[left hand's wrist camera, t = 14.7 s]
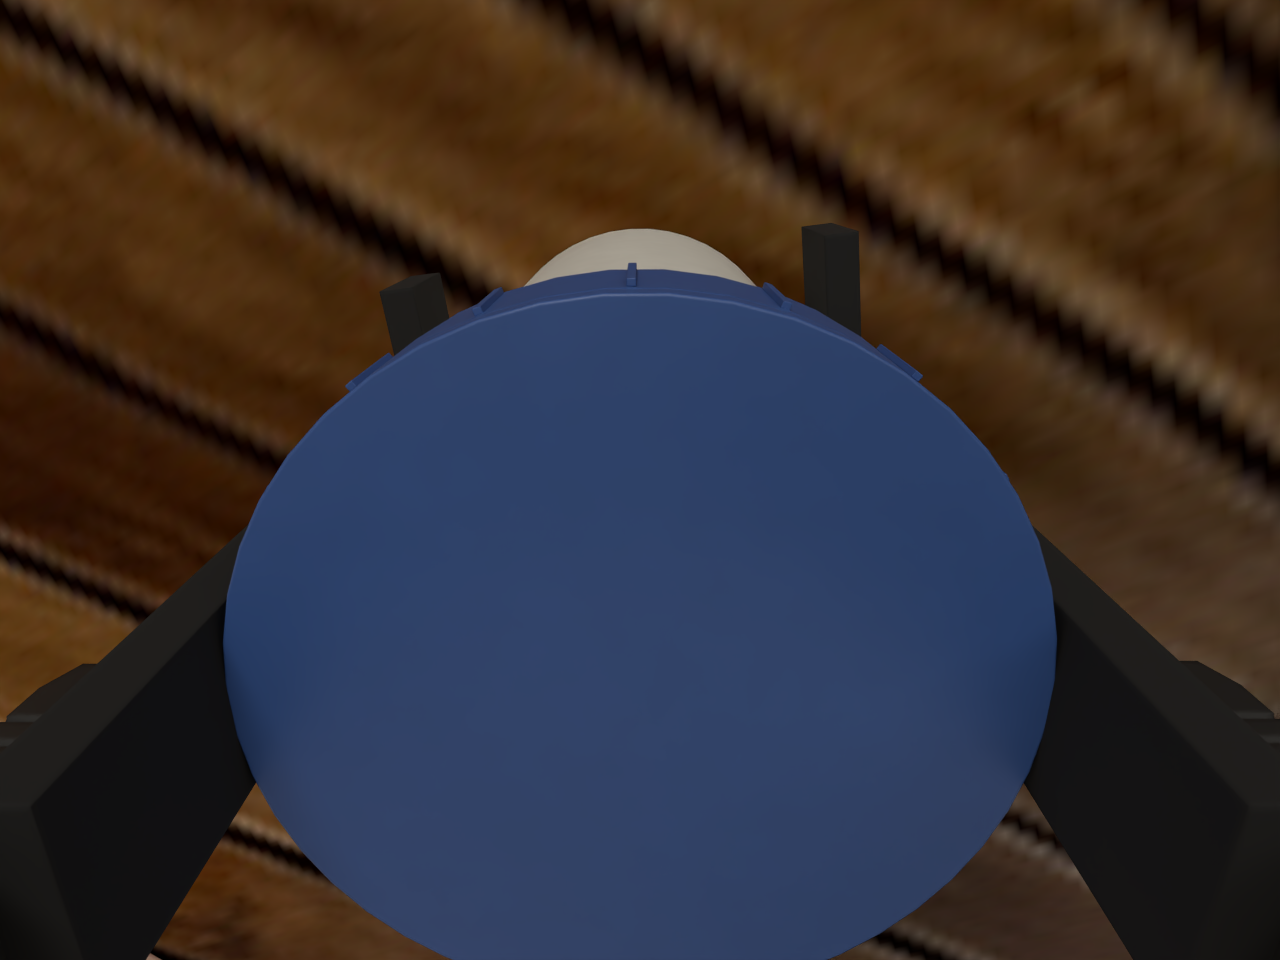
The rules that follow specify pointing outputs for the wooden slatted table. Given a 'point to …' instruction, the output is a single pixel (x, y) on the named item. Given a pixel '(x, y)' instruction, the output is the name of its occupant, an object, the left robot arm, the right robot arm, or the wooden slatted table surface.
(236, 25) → the wooden slatted table surface
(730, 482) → the lid
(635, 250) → the jar
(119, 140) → the wooden slatted table surface
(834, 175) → the wooden slatted table surface
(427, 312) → the right robot arm
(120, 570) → the wooden slatted table surface
